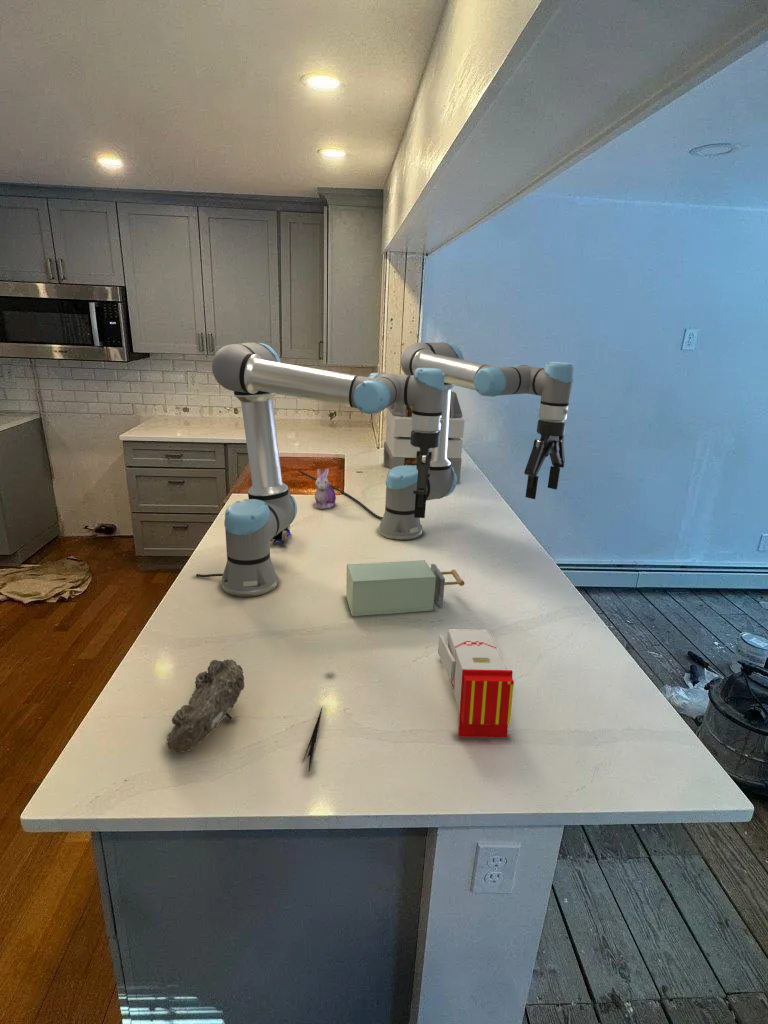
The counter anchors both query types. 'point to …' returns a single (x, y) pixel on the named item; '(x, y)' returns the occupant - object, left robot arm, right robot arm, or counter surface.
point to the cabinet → (390, 587)
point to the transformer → (400, 436)
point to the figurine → (324, 491)
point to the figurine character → (282, 536)
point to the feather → (313, 740)
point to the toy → (478, 682)
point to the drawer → (443, 583)
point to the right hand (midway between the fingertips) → (541, 493)
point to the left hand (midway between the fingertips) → (420, 508)
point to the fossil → (206, 705)
